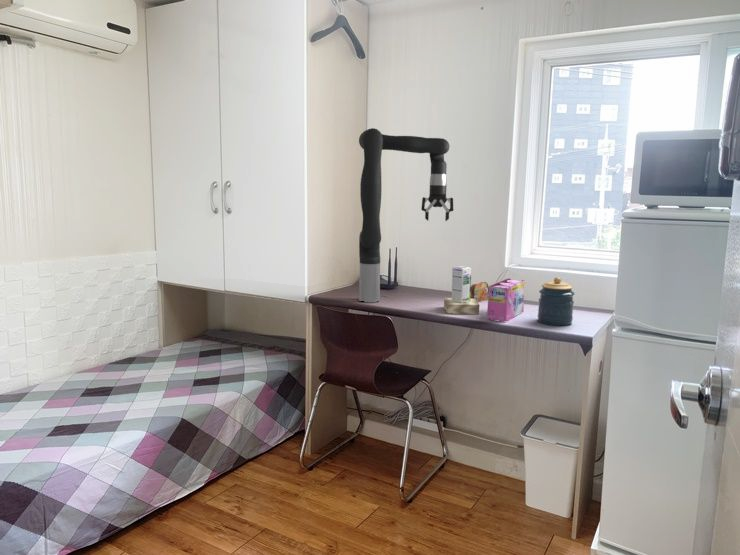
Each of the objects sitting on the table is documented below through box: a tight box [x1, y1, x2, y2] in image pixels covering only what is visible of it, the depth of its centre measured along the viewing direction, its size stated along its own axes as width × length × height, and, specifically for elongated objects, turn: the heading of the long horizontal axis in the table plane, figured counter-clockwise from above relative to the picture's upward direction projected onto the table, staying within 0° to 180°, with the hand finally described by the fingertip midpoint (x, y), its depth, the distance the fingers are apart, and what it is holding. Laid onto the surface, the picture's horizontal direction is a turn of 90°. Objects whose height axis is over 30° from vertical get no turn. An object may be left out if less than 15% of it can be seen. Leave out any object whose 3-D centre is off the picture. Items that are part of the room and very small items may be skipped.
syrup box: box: [451, 265, 472, 303], centre depth 231 cm, size 6×6×14 cm
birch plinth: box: [443, 297, 480, 315], centre depth 233 cm, size 13×13×4 cm
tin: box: [471, 281, 489, 303], centre depth 254 cm, size 15×3×8 cm, turn 143°
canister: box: [537, 276, 575, 326], centre depth 214 cm, size 13×13×18 cm
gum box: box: [486, 278, 525, 322], centre depth 225 cm, size 24×8×14 cm, turn 148°
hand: (436, 220), depth 252 cm, fingers open, 8 cm apart
